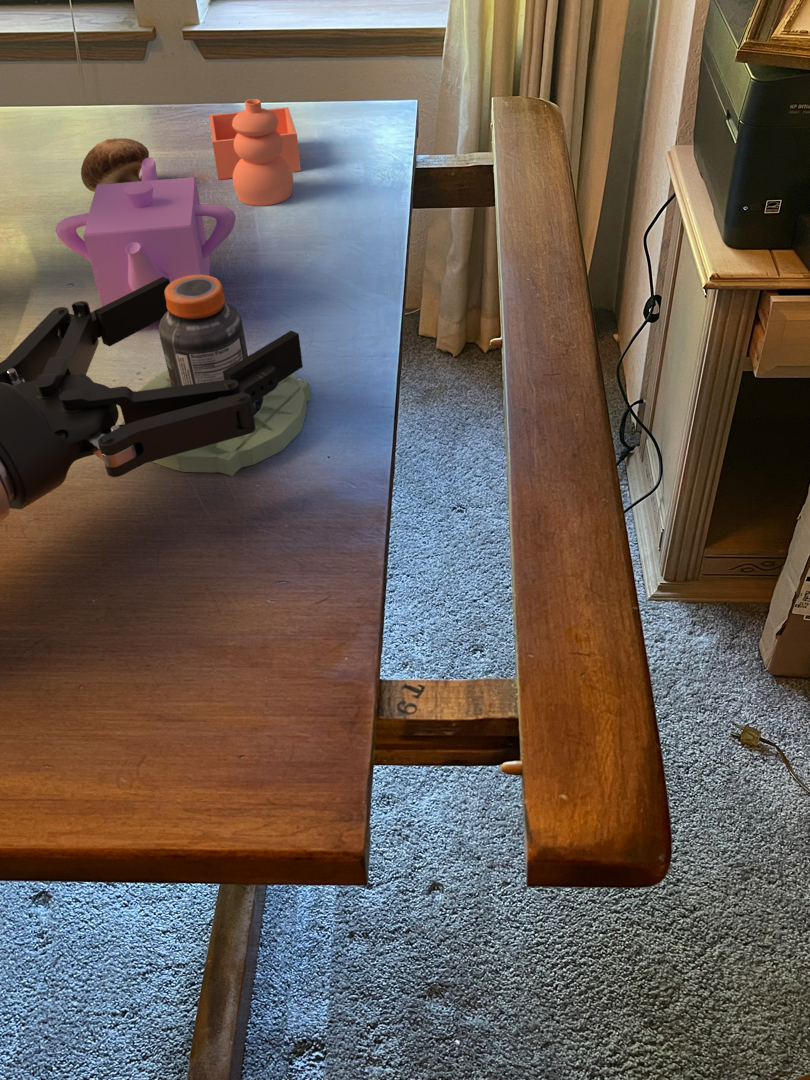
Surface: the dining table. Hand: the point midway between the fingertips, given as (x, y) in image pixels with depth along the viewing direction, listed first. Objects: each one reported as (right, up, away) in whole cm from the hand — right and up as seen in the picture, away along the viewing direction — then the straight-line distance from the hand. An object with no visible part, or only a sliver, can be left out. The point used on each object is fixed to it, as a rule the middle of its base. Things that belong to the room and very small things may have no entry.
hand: (230, 319), depth 70 cm
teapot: (-9, +6, +17) cm, 21 cm away
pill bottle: (-1, -7, +3) cm, 8 cm away
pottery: (-4, +26, +39) cm, 47 cm away
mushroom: (-19, +23, +37) cm, 47 cm away
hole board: (-1, -7, +3) cm, 8 cm away
